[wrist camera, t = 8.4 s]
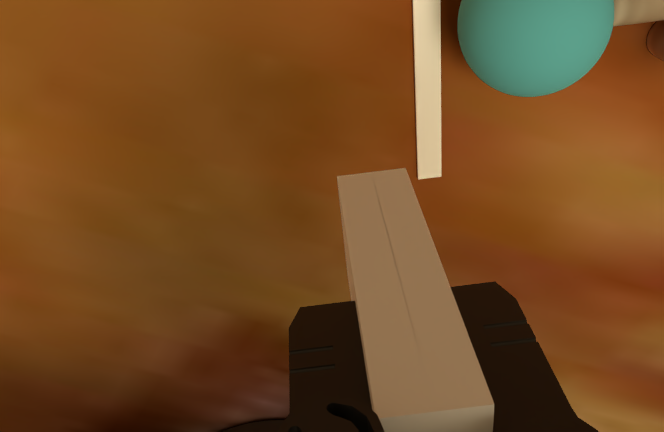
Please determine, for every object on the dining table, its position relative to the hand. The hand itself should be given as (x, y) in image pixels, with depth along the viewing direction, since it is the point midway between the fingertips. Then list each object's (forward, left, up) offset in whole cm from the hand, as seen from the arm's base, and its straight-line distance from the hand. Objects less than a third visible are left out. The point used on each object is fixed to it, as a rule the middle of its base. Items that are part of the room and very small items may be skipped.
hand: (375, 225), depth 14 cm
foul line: (+4, -2, -16) cm, 17 cm away
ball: (+7, -3, -13) cm, 15 cm away
